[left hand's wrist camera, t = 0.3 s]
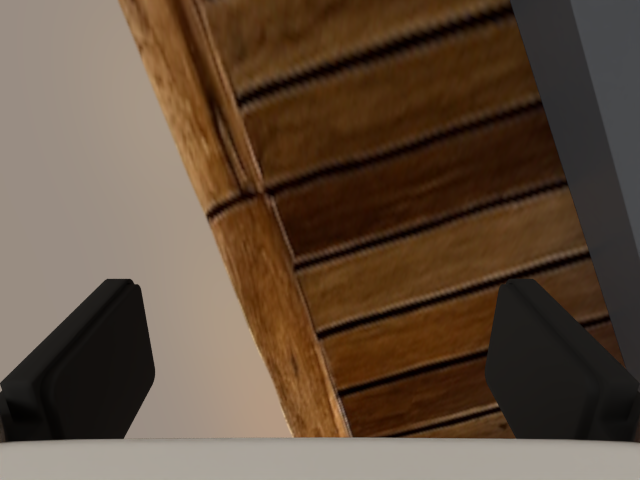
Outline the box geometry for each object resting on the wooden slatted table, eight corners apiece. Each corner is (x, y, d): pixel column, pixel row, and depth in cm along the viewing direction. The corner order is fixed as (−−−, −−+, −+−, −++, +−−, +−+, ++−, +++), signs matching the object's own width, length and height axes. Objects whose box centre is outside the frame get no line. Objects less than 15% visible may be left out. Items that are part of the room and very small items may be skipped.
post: (460, -154, 31) (508, -230, 23) (526, -196, 30) (599, -289, 22) (648, 439, 53) (706, 505, 45) (690, 425, 52) (756, 489, 44)
